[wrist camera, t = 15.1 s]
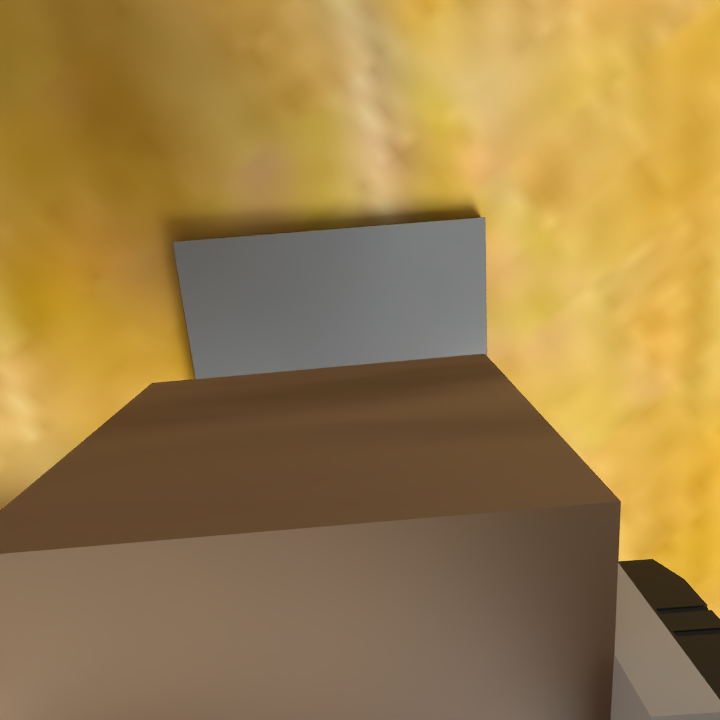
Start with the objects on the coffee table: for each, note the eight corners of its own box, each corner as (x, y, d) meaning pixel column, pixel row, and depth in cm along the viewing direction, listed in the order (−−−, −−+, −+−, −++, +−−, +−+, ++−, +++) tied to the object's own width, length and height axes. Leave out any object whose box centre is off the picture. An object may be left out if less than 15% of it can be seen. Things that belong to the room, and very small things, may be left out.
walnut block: (152, 382, 11) (-57, 558, 6) (484, 353, 11) (619, 501, 6) (206, 655, 13) (91, 999, 7) (493, 632, 13) (602, 962, 7)
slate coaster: (177, 241, 20) (172, 242, 19) (481, 216, 20) (485, 217, 19) (222, 509, 23) (218, 517, 22) (485, 489, 23) (488, 497, 22)
